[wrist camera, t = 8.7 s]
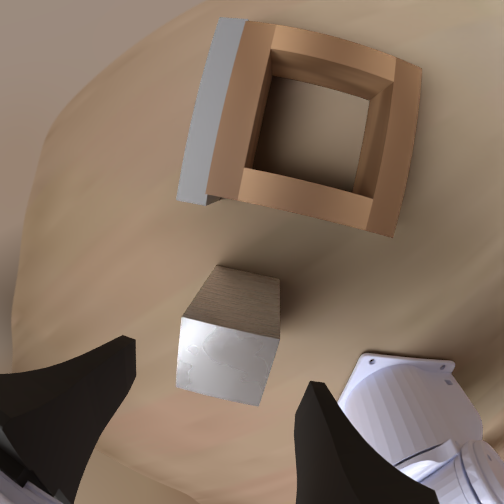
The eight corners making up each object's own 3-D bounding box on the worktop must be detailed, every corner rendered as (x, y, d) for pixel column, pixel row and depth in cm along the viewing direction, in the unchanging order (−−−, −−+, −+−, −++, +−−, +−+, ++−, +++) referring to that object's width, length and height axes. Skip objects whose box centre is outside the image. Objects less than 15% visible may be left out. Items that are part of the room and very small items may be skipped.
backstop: (253, 46, 14) (248, 19, 11) (219, 199, 17) (205, 205, 13) (230, 43, 14) (219, 17, 11) (195, 195, 17) (176, 200, 13)
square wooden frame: (394, 87, 14) (421, 68, 10) (368, 224, 16) (392, 238, 12) (252, 51, 14) (245, 20, 10) (221, 190, 17) (205, 194, 13)
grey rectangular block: (279, 279, 18) (279, 339, 11) (265, 333, 19) (258, 406, 12) (216, 265, 18) (181, 316, 11) (207, 320, 19) (175, 386, 12)
